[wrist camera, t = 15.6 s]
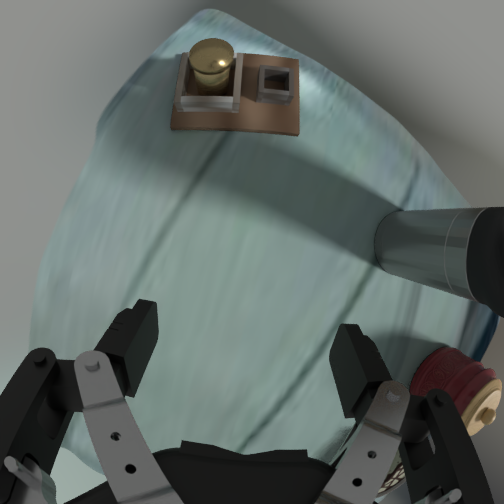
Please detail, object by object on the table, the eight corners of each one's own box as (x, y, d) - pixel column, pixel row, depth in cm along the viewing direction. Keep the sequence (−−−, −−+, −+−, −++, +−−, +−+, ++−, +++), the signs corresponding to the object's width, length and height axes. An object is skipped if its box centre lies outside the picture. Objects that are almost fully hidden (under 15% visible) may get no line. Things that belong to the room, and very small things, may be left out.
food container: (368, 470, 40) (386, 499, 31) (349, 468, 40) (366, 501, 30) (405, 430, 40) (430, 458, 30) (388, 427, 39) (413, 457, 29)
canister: (465, 352, 40) (524, 385, 22) (433, 407, 40) (482, 451, 23) (432, 337, 38) (503, 377, 21) (395, 400, 39) (450, 457, 21)
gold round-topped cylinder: (232, 74, 30) (236, 39, 23) (228, 103, 31) (231, 71, 23) (197, 72, 30) (193, 37, 22) (191, 101, 30) (185, 69, 22)
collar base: (296, 62, 32) (303, 48, 28) (297, 136, 33) (305, 126, 29) (183, 56, 30) (179, 40, 26) (171, 130, 32) (165, 119, 28)
